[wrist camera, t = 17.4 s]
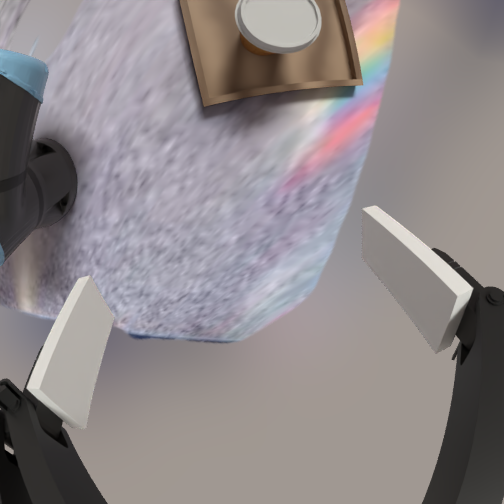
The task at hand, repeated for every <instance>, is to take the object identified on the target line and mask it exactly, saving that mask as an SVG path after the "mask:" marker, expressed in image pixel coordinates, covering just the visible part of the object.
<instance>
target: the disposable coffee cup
mask: <svg viewBox="0 0 504 504" xmlns="http://www.w3.org/2000/svg"><path fill="white" fill-rule="evenodd" d="M235 20H236V24H237V26H238V29H239V31H240V39H241V43H242V45H243V46H244V47H245V48H246V49H247V50H248V51H249V52H251V53H253V54H255V55H260V56H266V55H271V54H276V53H280V54H286V53H294V52H298V51H301V50H303V49H305V48H307V47H308V46H310V45H311V44H312V43H313V42H314V41H315V40H316V38H317V37H318V35H319V33H320V30H321V14H320V9H319V7H318V6H317V4H316V2H315V0H239V1H238V3H237V5H236V9H235Z"/></svg>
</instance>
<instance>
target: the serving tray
mask: <svg viewBox="0 0 504 504" xmlns="http://www.w3.org/2000/svg"><path fill="white" fill-rule="evenodd" d="M238 1H239V0H180V4H181V9H182V14H183V18H184V23H185V27H186V32H187V36H188V40H189V45H190V49H191V54H192V58H193V62H194V67H195V71H196V75H197V80H198V84H199V88H200V92H201V97H202V101H203V105H204V107H206V106H210V105H214V104H218V103H223V102H227V101H232V100H237V99H242V98H247V97H252V96H258V95H264V94H270V93H277V92H284V91H292V90H301V89H310V88H321V87H335V86H357V85H363V81H362V74H361V69H360V63H359V58H358V53H357V48H356V43H355V38H354V34H353V30H352V26H351V21H350V18H349V14H348V10H347V6H346V3H345V0H315V2H316V4H317V6H318V7H319V9H320V14H321V30H320V33H319V35H318V37H317V38H316V40H315V41H314V42H313V43H312V44H311V45H310V46H308V47H307V48H305V49H303V50H301V51H298V52H294V53H286V54H280V53H276V54H271V55H266V56H260V55H255V54H253V53H251V52H249V51H248V50H247V49H246V48H245V47H244V46H243V45H242V43H241V39H240V31H239V29H238V26H237V24H236V20H235V9H236V5H237V3H238Z"/></svg>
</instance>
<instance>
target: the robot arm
mask: <svg viewBox="0 0 504 504" xmlns="http://www.w3.org/2000/svg"><path fill="white" fill-rule="evenodd" d="M48 73H49V72H48V67H47V65H46V64H45V63H44V62H43V61H41V60H39V59H36V58H34V57H31V56H28V55H24V54H20V53H17V52H13V51H8V50H3V49H0V266H2V265H3V263H4V261H5V260H6V259H7V258H8V257H9V256H10V255H11V253H12V252H13V251H14V250H15V249H16V248H17V247H18V246H19V245H20V244H21V243H22V242H23V241H24V240H25V239H26V237H27V236H28V235H29V234H30V233H31V232H32V231H33V230H35V229H39V228H42V227H46V226H50V225H52V224H54V223H56V222H57V221H59V220H60V219H61V218H62V217H63V216H64V215H65V214H66V213H67V212H68V211H69V210H70V208H71V206H72V204H73V202H74V199H75V196H76V191H77V175H76V170H75V167H74V164H73V161H72V159H71V157H70V155H69V154H68V152H67V151H66V150H65V149H64V148H63V147H62V146H61V145H60V144H59V143H57V142H56V141H53V140H51V139H47V138H39V139H35V140H32V139H33V134H34V130H35V125H36V121H37V117H38V113H39V109H40V106H41V104H42V103H43V98H42V97H43V93H44V89H45V86H46V82H47V78H48ZM362 259H363V260H364V261H365V263H366V264H367V265H368V266H369V267H370V268H371V270H372V271H373V272H374V273H375V275H376V276H377V277H378V278H379V280H380V281H381V282H382V283H383V284H384V286H385V287H386V288H387V289H388V290H389V292H390V293H391V294H392V296H393V297H394V298H395V299H396V301H397V302H398V303H399V305H400V306H401V307H402V308H403V310H404V311H405V312H406V314H407V315H408V316H409V318H410V319H411V320H412V322H413V323H414V324H415V325H416V327H417V328H418V330H419V331H420V332H421V334H422V335H423V337H424V338H425V339H426V341H427V342H428V344H429V345H430V346H431V348H432V349H433V351H434V352H435V353H438V352H440V351H442V350H444V349H446V348H447V347H449V346H451V344H452V342H453V340H454V337H455V335H456V336H457V337H458V338H459V339H460V342H459V344H458V346H457V348H456V350H455V353H454V354H453V357H452V360H454V359H455V357H456V355H457V364H456V373H455V381H454V388H453V395H452V401H451V407H450V412H449V417H448V422H447V426H446V430H445V435H444V439H443V443H442V446H441V450H440V454H439V457H438V460H437V464H436V467H435V470H434V473H433V476H432V479H431V482H430V485H429V487H428V490H427V493H426V495H425V498H424V500H423V502H422V504H502V500H503V497H504V292H503V291H502V290H500V289H499V288H496V287H485V288H484V287H482V286H481V285H480V284H479V283H478V282H477V281H476V280H475V279H474V278H473V277H472V276H471V275H470V274H469V273H467V272H466V271H465V270H464V269H463V268H462V267H460V265H459V264H458V263H457V262H454V260H453V259H452V258H451V257H449V256H448V255H447V254H446V253H444V252H442V251H440V250H438V249H436V248H433V249H430V248H429V247H428V246H426V245H425V244H424V243H423V242H422V241H420V240H419V239H418V238H416V236H414V235H413V234H412V233H411V232H409V231H408V230H407V229H405V228H404V227H403V226H402V225H401V224H399V223H398V222H397V221H395V220H394V219H393V218H391V217H390V216H389V215H388V214H386V213H385V212H384V211H382V210H381V209H380V208H378V207H377V206H371V207H366V208H362ZM114 318H115V317H114V315H113V314H112V312H111V311H110V309H109V307H108V306H107V304H106V302H105V301H104V299H103V297H102V295H101V294H100V292H99V290H98V288H97V287H96V285H95V283H94V281H93V279H92V278H91V276H86V277H82V278H79V279H78V280H77V282H76V284H75V286H74V287H73V289H72V291H71V293H70V295H69V296H68V298H67V300H66V302H65V304H64V306H63V308H62V309H61V311H60V313H59V315H58V317H57V319H56V321H55V323H54V325H53V327H52V330H51V331H50V334H49V336H48V338H47V340H46V342H45V344H44V345H43V346H42V348H41V349H40V351H39V353H38V356H37V360H35V362H34V365H33V366H34V367H32V370H31V372H30V375H29V377H28V380H27V382H26V385H25V388H24V390H23V393H22V392H21V391H20V390H19V389H18V388H17V387H16V386H15V385H14V384H13V383H12V382H11V381H10V380H9V379H2V380H1V381H0V408H1V410H0V504H107V502H106V501H105V499H104V498H103V496H102V495H101V493H100V491H99V490H98V488H97V487H96V485H95V484H94V482H93V480H92V479H91V477H90V475H89V474H88V472H87V470H86V468H85V467H84V465H83V463H82V461H81V459H80V457H79V456H78V454H77V452H76V450H75V448H74V446H73V444H72V442H71V440H70V437H69V435H68V433H67V431H66V430H65V429H64V428H63V427H62V422H63V421H64V422H65V423H66V424H68V425H69V426H70V427H72V428H79V429H86V426H87V420H88V416H89V410H90V406H91V401H92V397H93V392H94V388H95V384H96V380H97V376H98V372H99V368H100V365H101V361H102V357H103V354H104V350H105V347H106V343H107V340H108V336H109V334H110V330H111V327H112V324H113V321H114ZM4 444H6V445H7V446H9V447H10V448H12V449H13V450H14V454H13V455H12V454H11V453H9V452H8V451H6V450H5V447H4Z"/></svg>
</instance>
